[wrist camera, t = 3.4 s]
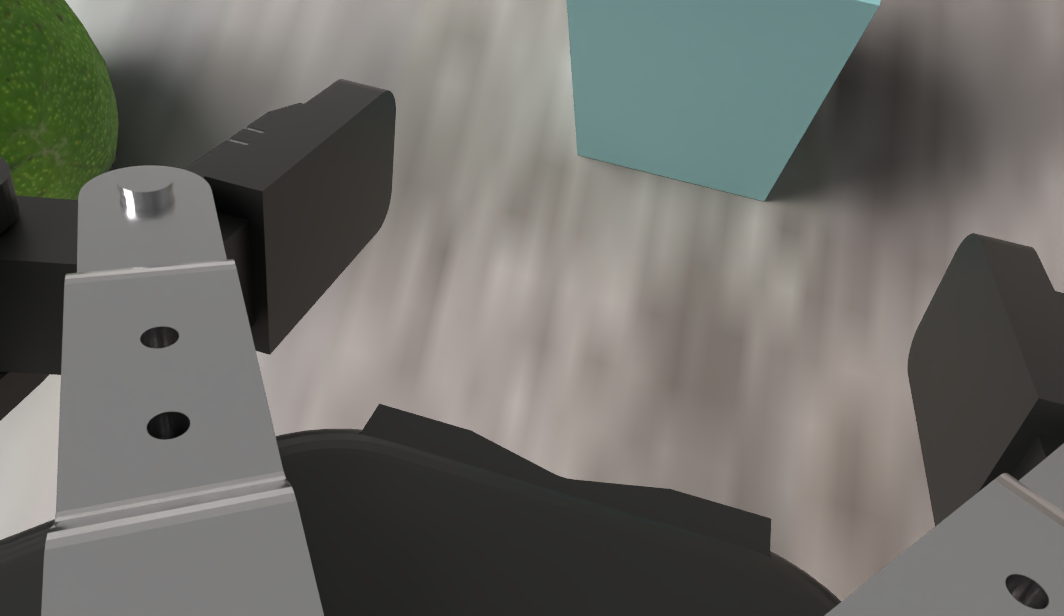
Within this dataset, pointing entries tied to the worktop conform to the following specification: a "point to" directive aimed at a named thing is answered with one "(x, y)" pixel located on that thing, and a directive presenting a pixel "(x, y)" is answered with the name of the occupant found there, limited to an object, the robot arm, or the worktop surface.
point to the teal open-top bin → (706, 83)
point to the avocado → (53, 100)
